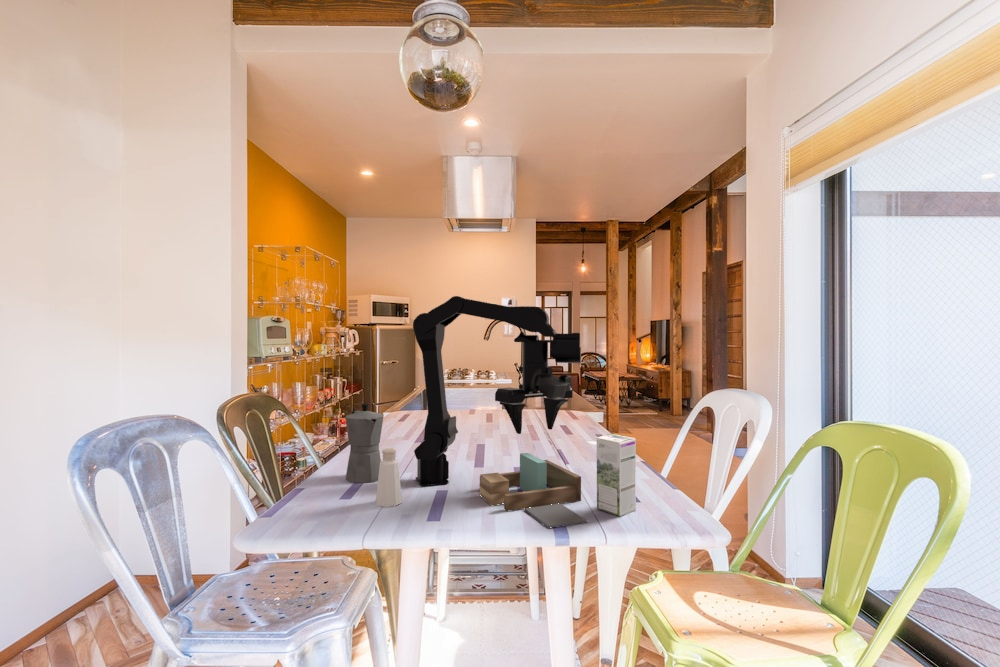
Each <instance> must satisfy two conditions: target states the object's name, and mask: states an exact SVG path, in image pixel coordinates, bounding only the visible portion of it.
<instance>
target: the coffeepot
mask: <svg viewBox="0 0 1000 667" xmlns="http://www.w3.org/2000/svg"><path fill="white" fill-rule="evenodd" d="M368 407H369V403H366V402H365V403H362V404H361V408H362V409H361V410H358V409H353V410H352V411H351V414H346V416H345V424H346V432H347V438H348V445H350V451H349V456H348V462H347V468H346V474H345V481H346V482H349V483H350V484H351V483H353V484H368V483H375V482H378V477H379V467H380V462H381V461H382V459H381V453H380V443H381V434H382V430H383V421H384V414H383V413H378V412H375V411H370V410H368Z"/></svg>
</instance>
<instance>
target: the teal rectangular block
mask: <svg viewBox="0 0 1000 667" xmlns="http://www.w3.org/2000/svg"><path fill="white" fill-rule="evenodd" d="M543 460H544V459H541V458H539V457H537V456H535V455H533V454H531V453H529V452H522V453H519V471H520V486H519V490H521V489H522V490H523V491H522V490H521V491H522V492H524V491H533V490H541V489H548V486H547V462H545V461H543Z"/></svg>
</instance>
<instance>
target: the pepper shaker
mask: <svg viewBox="0 0 1000 667" xmlns="http://www.w3.org/2000/svg"><path fill="white" fill-rule="evenodd" d="M381 453H382V460H381V462H380V467H379V477H378V481H377V487H376V495H375V496H376V498H375V503H376V505H377V507H380V506H382V507H381V508H390V507H391V506H393V507H397V506H398V504H399V505H400V503H401V504H402V503H403V499H402V488H401V487H402V486H401V478H400V466H399V462H398V460H396V457H397V449H395V448H393V447H389V448H384V449H382V451H381ZM396 505H397V506H396Z"/></svg>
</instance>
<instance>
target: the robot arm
mask: <svg viewBox="0 0 1000 667" xmlns="http://www.w3.org/2000/svg"><path fill="white" fill-rule="evenodd" d="M461 315H467V316H472V317H477V318H481V319H482V318H484V319H489V320H495V321H499V322H503V323H508V324H510V325H511V326H515V327H517V328H519V329H521V330H524V331H527V332H530V333H539V334H540V335H541V336H544V337H545V338H546V337H548V338H552V339H540V338H539V335H538V334H525V332H524V331H520V333H519V334H518V335H517V337H515V338H514V339H513V342H515V343H522V365H521V366H519V367H518V371H519V372H522V384H518V388H517V387H516V388H515V387H498V388H497V389H496V391H495V393H494V401H495V402H499V404H500V406H501V405H502V406H503V408H504V409H505V411H506V413H507V415H508V417H509V418H510V421H511V423H512V425H513V428H514V430H515V433H516V434H518V435H521V434H522V428H523V425H522V424H523V423H522V422H523V409H525V406H526V405H527V404H526V403H523V402H524V401H525V399H531V398H541V397H542V398H543V406H544V414H545V421H546V427H547V429H548V430H553V428H554V424H555V421H556V419H557V416H558V414H559V411H560V409H561V407H562V406H563V405H564V404H566V403H567V402H568V403H569V399H573V398H574V397H573V396H574V395H573V393H574V392H573V388H572V377H571V375H569V374H561V375H560V376H559V375H556V376H555V375H553V374H554V373H553V367H552V366H549V363H548V362H549V350H550V359H553V360H554V361H555V363H557V364H558V363H559V364H581V362H582V346H581V333H580V332H571V333H557V331H556V329H554V328H553V326H552V325H551V324H550V318H549V313H547V311H546V310H544V309H543V308H541V307H538V306H529V305H528V306H526V305H525V306H507V305H502V304H501V305H500V304H497V303H490V302H486V301H485V302H484V301H480V300H475V299H470V298H469V299H468V298H464V297H462V296H457V295H454V296H452V297H451V298H449V299H448V300H447V301H445V302H443V303H441V304H440V305H438V306H436V307H435V308H432V309H430V311H428V312H423V313H420V314H418V315H417V316H416V317H415V318H414V320H413V323H412V327H413V328H412V329H413V332H414V336H415V340H416V342H417V344H418V347H419V348H420V351H421V355H422V362H423V364H422V365H423V374H424V383H425V385H424V386H425V396H426V405H427V417H426V420H425V423H424V424H425V425H424V433H423V441H422V442H421V443H420V444H418V446H417V447H416V448H415V449H413V450H414V451H413V453H414V456H415V458H416V460H417V461H416V462H417V463H416V464H417V472H416V473H417V476H416V477H415V480H416V482H417V483H418V484H419V485H420V487H428V486H436V485H437V486H438V485H446V484H449V482H450V481H449V480H448V479H449V473H450V472H449V470H450V469H449V461H448V460H447V454H445V453H446V452H448V448H449V447H450V446H451V445H452V444H453V443H454V442H455V440H456V435H457V434H458V433H459V431H458V428H457V416H456V415H454V416H451V415H450V412H449V411H448V406H447V398H446V387H445V386H446V385H445V377H444V366H443V355H442V348H443V344H444V340H445V331H446V330H445V329H446V327H448V326H449V325H450V324H452V323H453V322H454V321H455V320H456V319H457V318H458V317H459V316H461ZM549 343H550V345H549ZM549 346H550V347H549ZM549 348H550V349H549Z"/></svg>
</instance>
